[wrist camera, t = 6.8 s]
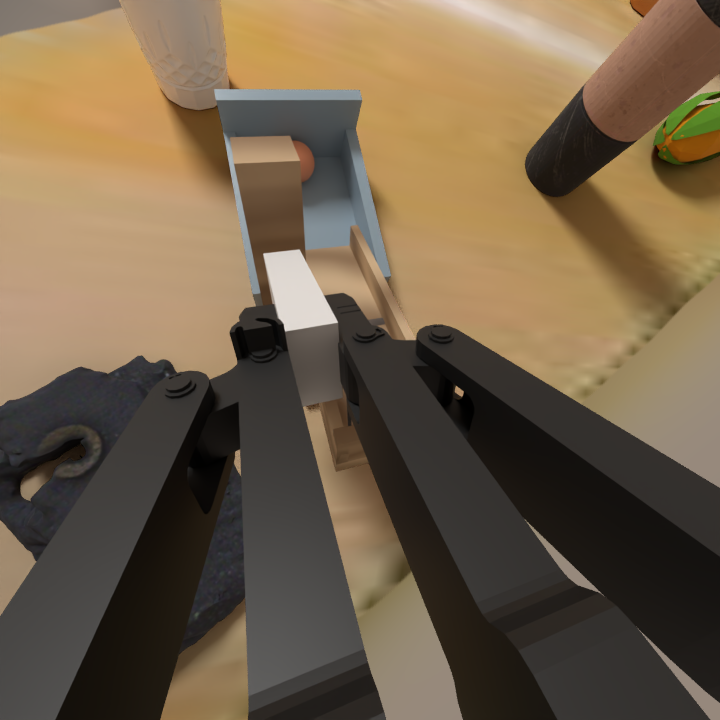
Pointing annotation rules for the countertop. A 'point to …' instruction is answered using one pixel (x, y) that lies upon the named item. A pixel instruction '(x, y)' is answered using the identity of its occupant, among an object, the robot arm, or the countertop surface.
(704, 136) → the corn
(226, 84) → the white cup
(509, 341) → the countertop surface
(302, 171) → the ball
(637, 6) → the whiskey bottle
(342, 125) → the bin
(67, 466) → the dark slate chunk
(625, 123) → the travel mug
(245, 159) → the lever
